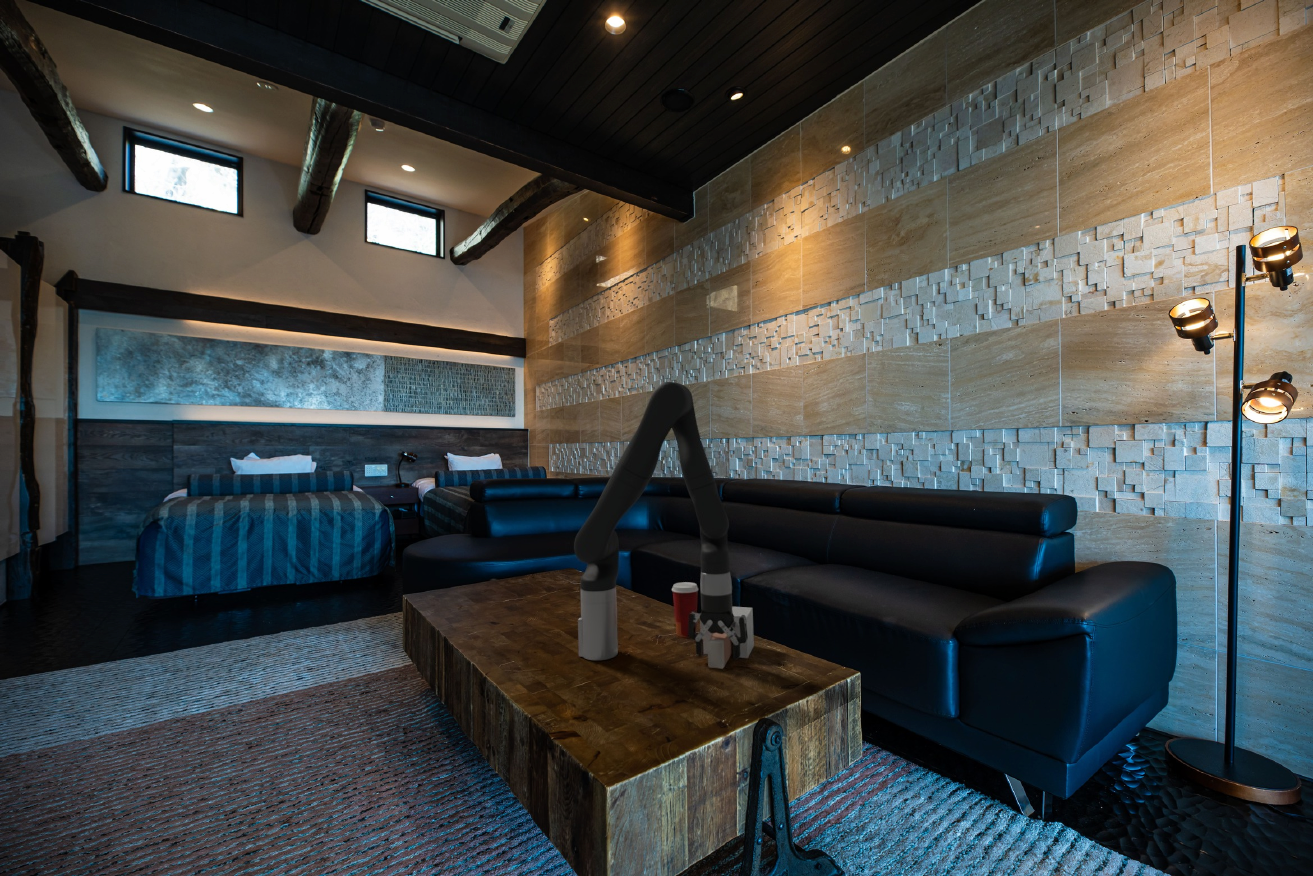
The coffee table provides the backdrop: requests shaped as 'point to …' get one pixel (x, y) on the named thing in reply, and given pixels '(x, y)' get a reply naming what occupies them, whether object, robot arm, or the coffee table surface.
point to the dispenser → (744, 647)
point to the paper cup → (684, 605)
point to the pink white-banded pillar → (719, 650)
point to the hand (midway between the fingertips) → (718, 657)
